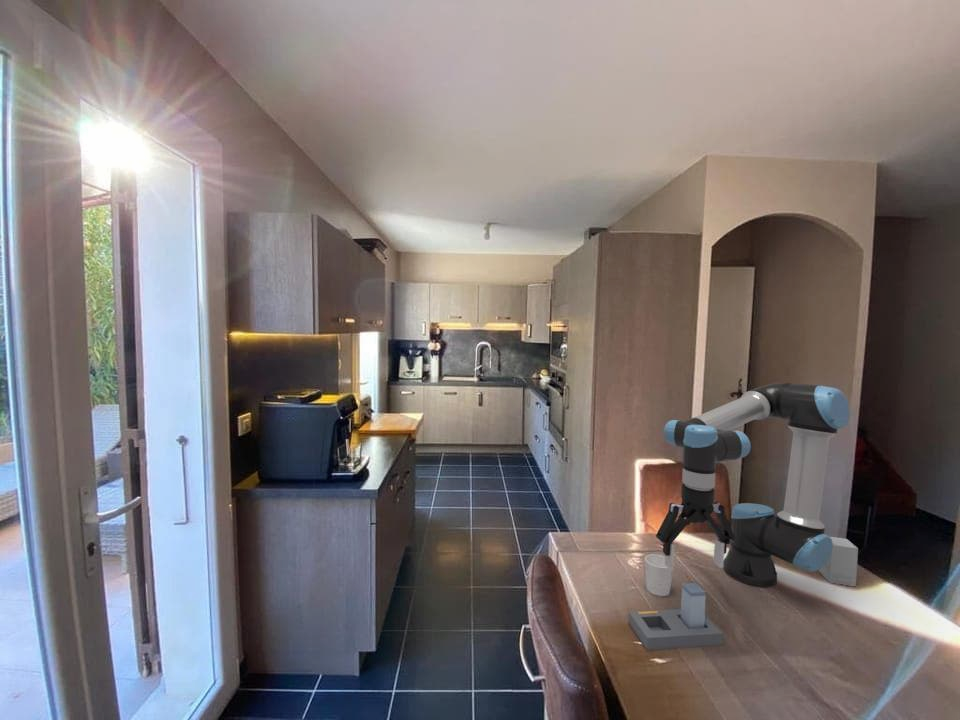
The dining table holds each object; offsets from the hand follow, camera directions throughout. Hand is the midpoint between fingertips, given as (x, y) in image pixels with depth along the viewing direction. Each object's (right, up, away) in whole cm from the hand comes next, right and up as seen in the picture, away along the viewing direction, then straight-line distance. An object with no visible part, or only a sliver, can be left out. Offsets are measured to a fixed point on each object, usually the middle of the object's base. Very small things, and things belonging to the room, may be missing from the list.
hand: (693, 566), depth 110 cm
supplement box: (+61, -18, +29) cm, 70 cm away
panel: (-5, -19, +1) cm, 19 cm away
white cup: (-1, -18, +20) cm, 27 cm away
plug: (0, -18, +1) cm, 18 cm away
